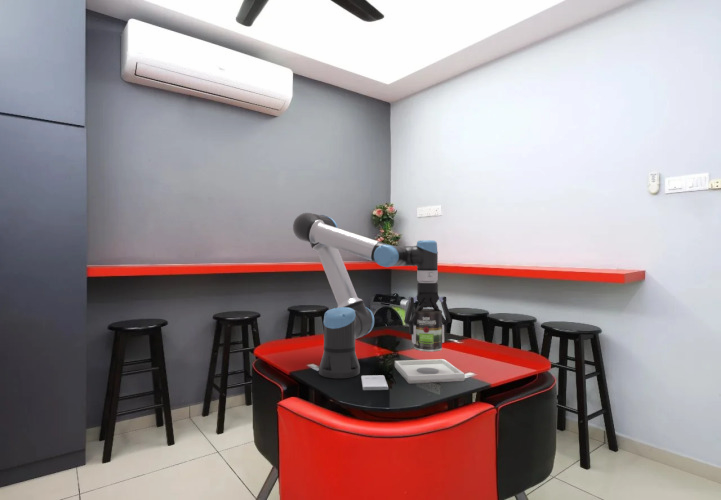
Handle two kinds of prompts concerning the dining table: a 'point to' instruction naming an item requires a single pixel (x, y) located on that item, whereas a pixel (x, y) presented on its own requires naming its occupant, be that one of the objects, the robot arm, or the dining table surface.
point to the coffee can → (428, 330)
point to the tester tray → (428, 371)
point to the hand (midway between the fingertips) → (427, 342)
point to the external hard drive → (374, 382)
